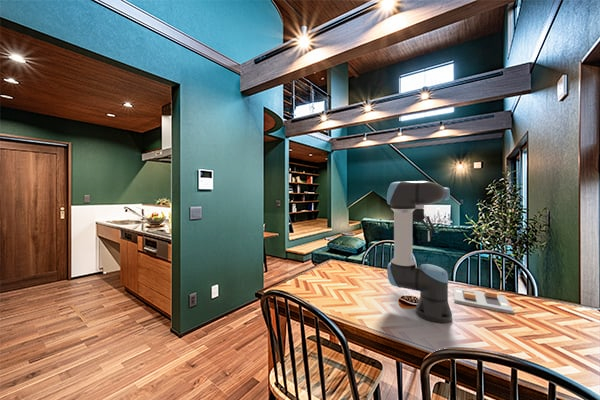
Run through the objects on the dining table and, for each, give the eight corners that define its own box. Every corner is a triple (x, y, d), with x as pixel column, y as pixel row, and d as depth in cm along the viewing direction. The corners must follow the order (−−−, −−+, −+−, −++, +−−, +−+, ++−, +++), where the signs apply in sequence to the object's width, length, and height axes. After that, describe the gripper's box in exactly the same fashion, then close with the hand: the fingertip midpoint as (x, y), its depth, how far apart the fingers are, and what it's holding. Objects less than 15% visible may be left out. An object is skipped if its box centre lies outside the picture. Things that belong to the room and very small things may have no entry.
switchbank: (513, 314, 116) (513, 310, 116) (454, 302, 128) (454, 299, 128) (505, 298, 133) (505, 295, 133) (453, 289, 145) (453, 286, 145)
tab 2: (497, 298, 129) (497, 294, 129) (485, 296, 131) (485, 292, 131) (496, 296, 131) (496, 292, 131) (484, 294, 134) (484, 290, 134)
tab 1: (475, 299, 127) (475, 295, 127) (464, 297, 130) (464, 293, 130) (475, 297, 130) (475, 293, 130) (463, 295, 132) (463, 291, 132)
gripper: (439, 208, 157) (439, 241, 157) (399, 207, 171) (399, 237, 172) (438, 209, 151) (438, 242, 151) (396, 208, 165) (396, 238, 166)
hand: (417, 239), depth 161 cm, fingers open, 13 cm apart
